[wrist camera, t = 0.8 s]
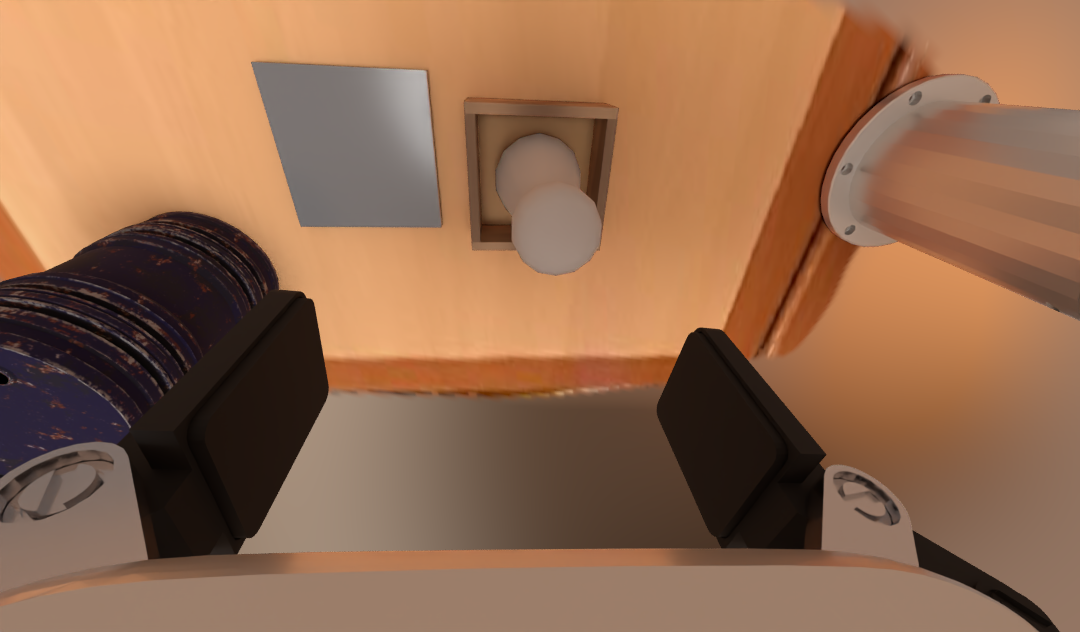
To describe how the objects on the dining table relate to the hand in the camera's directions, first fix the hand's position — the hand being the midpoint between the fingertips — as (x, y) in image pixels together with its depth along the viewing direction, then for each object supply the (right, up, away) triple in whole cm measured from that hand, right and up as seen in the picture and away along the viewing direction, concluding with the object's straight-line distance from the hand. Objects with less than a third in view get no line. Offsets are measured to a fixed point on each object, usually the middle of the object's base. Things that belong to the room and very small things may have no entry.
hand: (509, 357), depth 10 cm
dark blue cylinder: (-25, +4, +20) cm, 32 cm away
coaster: (-11, +12, +16) cm, 23 cm away
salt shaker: (0, +12, +18) cm, 22 cm away
